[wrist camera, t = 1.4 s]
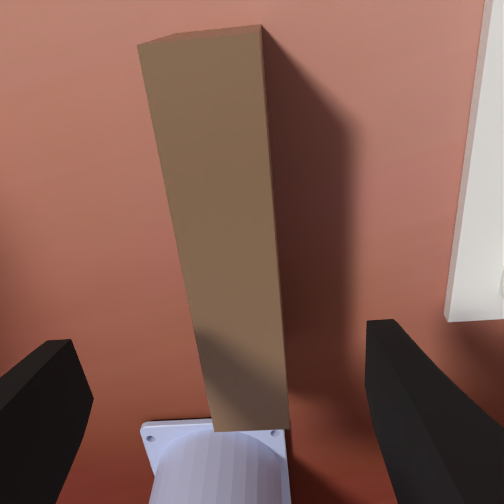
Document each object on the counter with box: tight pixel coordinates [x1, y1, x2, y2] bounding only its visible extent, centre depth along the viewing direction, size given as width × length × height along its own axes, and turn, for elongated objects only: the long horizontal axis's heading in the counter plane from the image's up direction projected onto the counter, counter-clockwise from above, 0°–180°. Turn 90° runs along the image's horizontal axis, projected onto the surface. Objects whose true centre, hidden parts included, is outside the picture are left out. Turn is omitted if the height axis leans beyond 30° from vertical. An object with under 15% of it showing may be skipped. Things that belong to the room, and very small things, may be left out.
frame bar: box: [137, 25, 290, 432], centre depth 16 cm, size 14×3×6 cm, turn 6°
